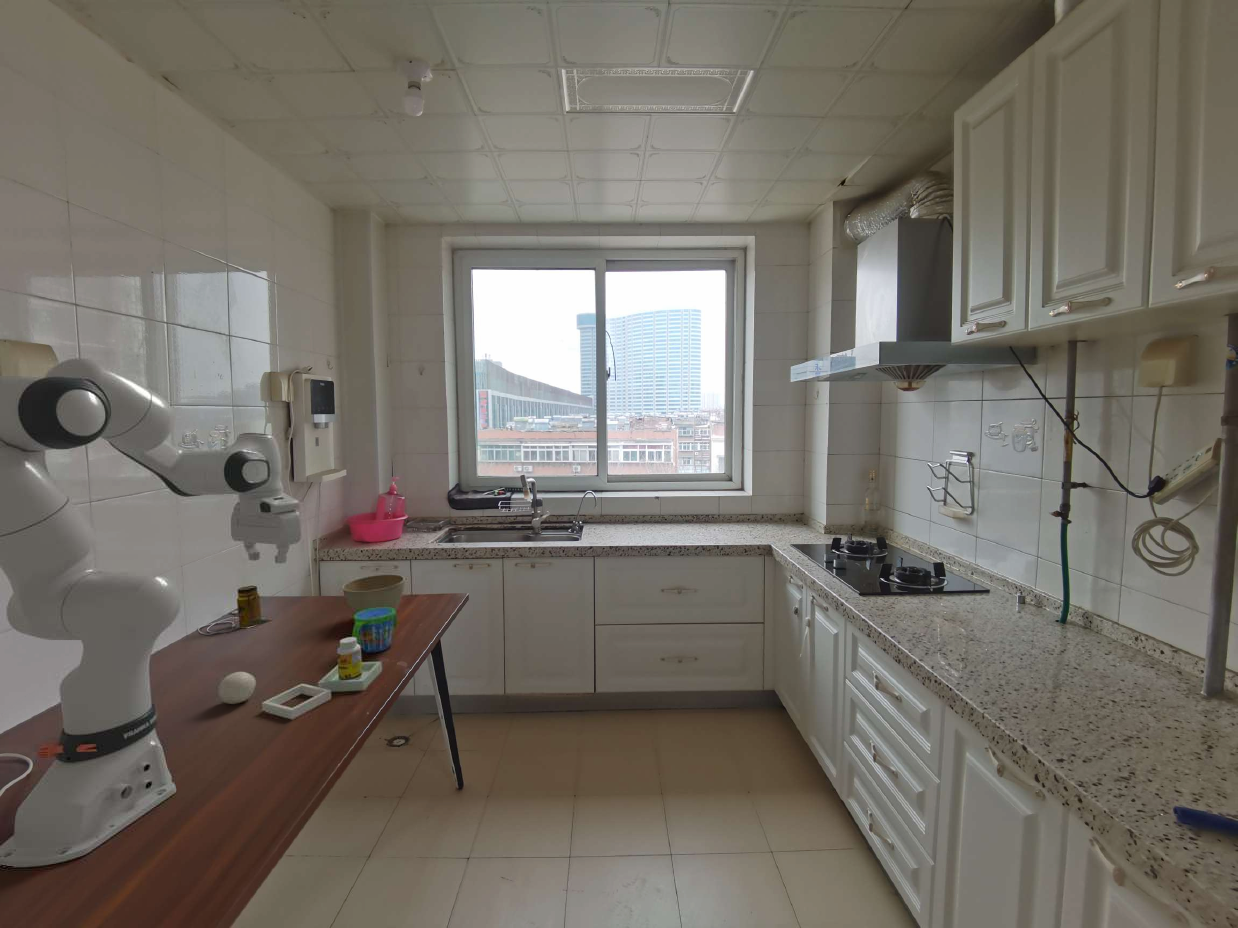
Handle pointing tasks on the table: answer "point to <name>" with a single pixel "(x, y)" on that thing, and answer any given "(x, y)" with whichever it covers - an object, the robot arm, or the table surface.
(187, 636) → the table surface
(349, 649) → the supplement bottle
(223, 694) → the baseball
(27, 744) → the table surface
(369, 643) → the snack cup
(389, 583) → the flower pot
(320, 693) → the holder
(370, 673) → the tray
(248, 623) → the condiment
